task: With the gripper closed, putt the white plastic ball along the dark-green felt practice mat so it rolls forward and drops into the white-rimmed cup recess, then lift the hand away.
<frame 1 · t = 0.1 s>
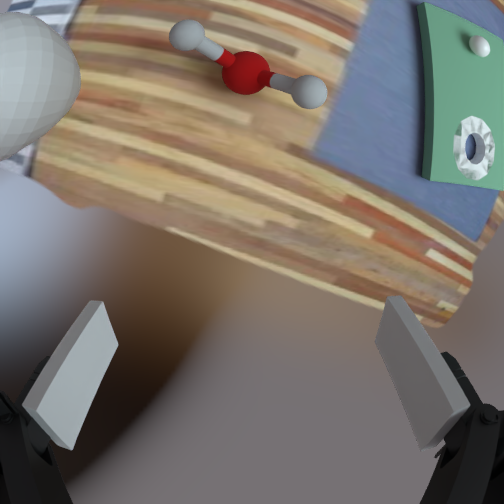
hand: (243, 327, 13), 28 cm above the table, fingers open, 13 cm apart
putting mat: (467, 98, 31), on the table
ball: (479, 46, 23), point 4 cm above the table, touching putting mat
vase: (63, 88, 31), on the table
molecular model: (246, 76, 32), on the table
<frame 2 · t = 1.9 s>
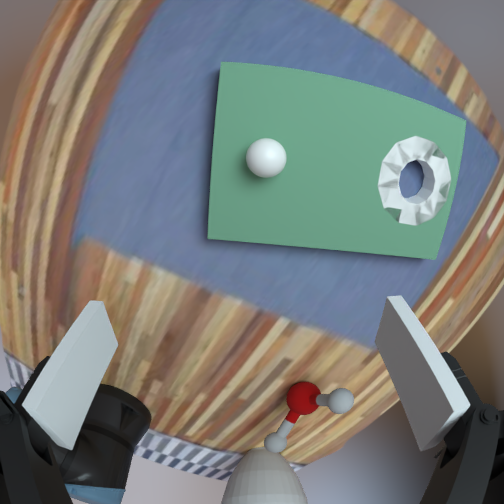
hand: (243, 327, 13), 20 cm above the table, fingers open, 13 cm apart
putting mat: (346, 164, 29), on the table
ball: (266, 157, 25), point 4 cm above the table, touching putting mat
vase: (262, 452, 55), on the table
molecular model: (301, 384, 44), on the table
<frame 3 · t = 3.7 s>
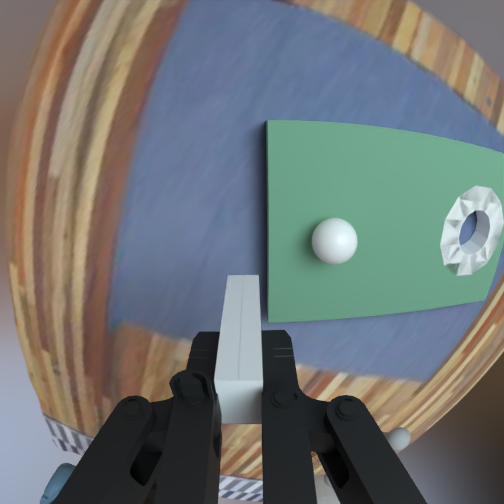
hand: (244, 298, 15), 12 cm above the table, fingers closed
putting mat: (406, 223, 26), on the table
ball: (334, 241, 22), point 4 cm above the table, touching putting mat
vase: (315, 477, 52), on the table
molecular model: (355, 421, 40), on the table
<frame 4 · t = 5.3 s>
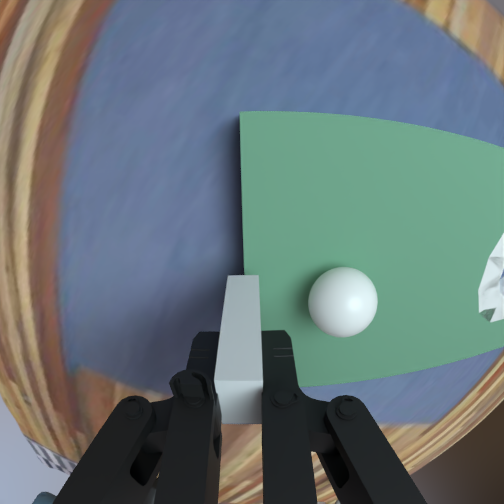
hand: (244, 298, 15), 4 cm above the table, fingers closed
putting mat: (438, 259, 18), on the table
ball: (343, 302, 14), point 4 cm above the table, touching putting mat
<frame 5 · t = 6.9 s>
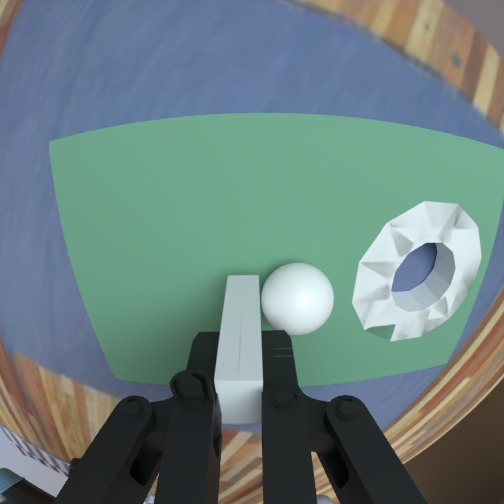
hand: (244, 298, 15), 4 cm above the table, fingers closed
putting mat: (298, 264, 18), on the table
ball: (297, 298, 14), point 4 cm above the table, tilted 97°, touching putting mat
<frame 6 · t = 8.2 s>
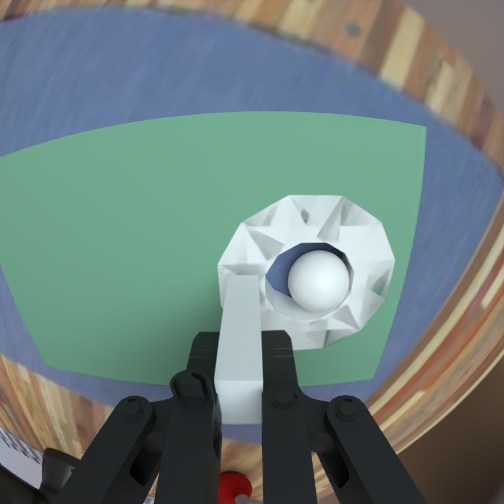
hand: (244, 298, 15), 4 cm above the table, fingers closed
putting mat: (176, 265, 18), on the table
ball: (318, 281, 17), point 2 cm above the table, tilted 123°
molecular model: (232, 472, 33), on the table
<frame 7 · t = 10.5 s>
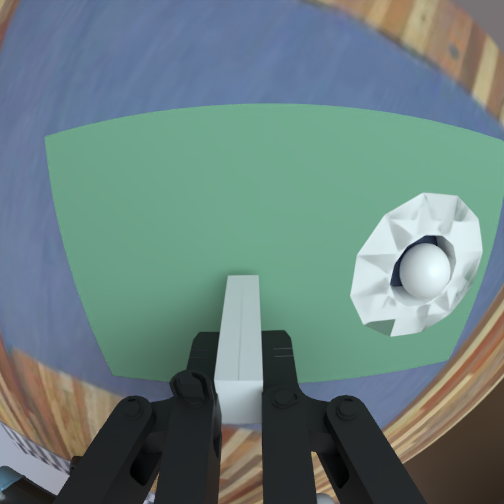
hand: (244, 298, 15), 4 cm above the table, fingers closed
putting mat: (295, 257, 18), on the table
ball: (425, 271, 16), point 2 cm above the table, tilted 125°
molecular model: (285, 469, 33), on the table
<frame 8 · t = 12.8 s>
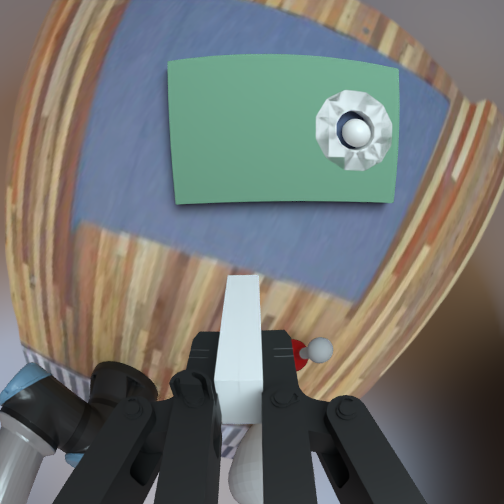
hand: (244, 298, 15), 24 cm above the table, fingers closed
putting mat: (287, 126, 33), on the table
ball: (356, 132, 32), point 2 cm above the table, tilted 128°
vase: (268, 423, 60), on the table
molecular model: (289, 343, 48), on the table
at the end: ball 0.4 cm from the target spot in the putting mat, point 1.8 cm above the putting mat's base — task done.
